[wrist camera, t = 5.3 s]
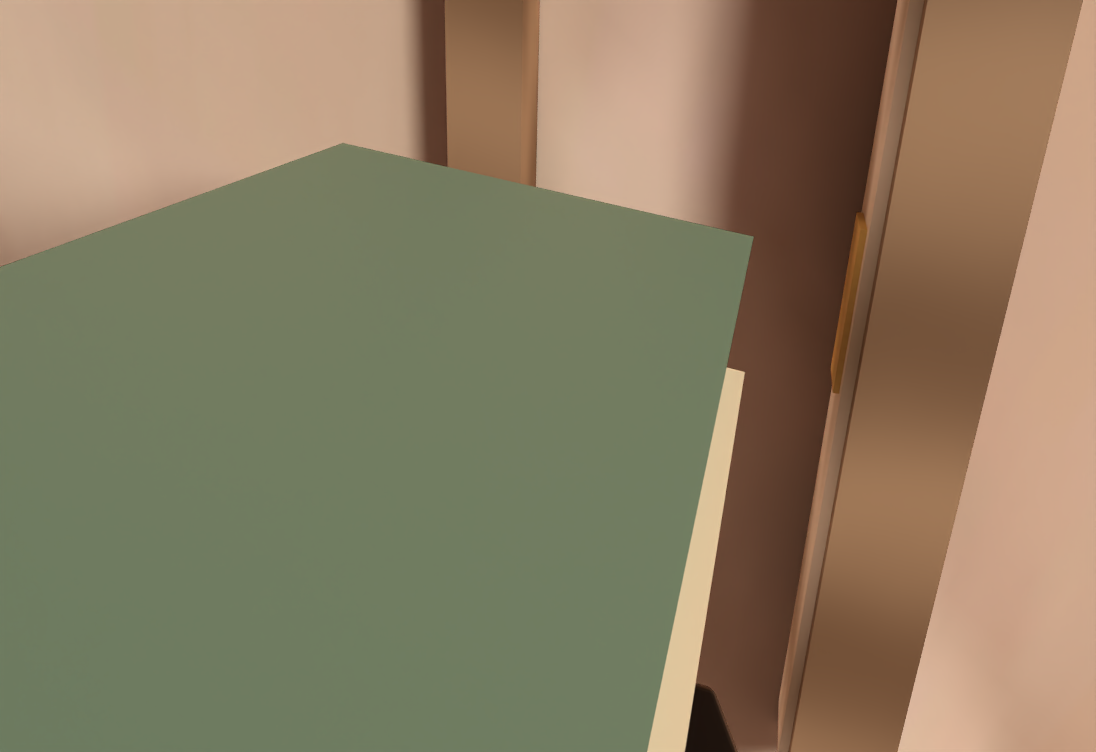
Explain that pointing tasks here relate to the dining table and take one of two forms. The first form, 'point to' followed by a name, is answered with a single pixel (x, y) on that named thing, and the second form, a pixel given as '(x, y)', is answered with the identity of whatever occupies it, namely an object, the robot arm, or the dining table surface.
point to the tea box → (364, 469)
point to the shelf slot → (865, 319)
